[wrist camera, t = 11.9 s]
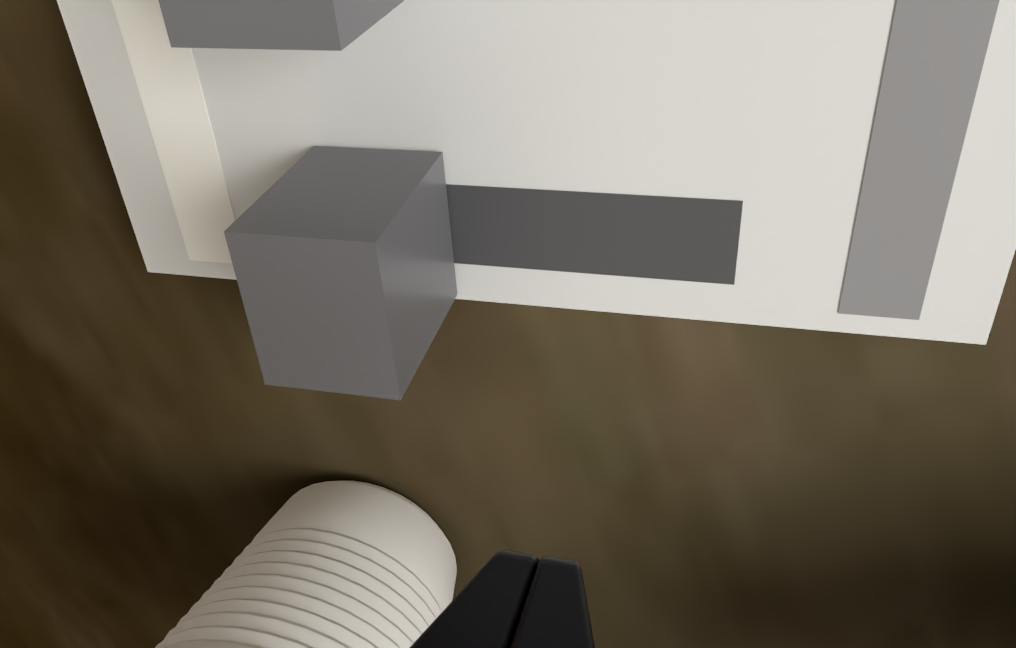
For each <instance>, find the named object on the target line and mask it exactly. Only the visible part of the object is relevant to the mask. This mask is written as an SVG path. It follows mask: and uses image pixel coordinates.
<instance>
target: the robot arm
mask: <svg viewBox="0 0 1016 648" xmlns="http://www.w3.org/2000/svg"><path fill="white" fill-rule="evenodd" d="M410 648H595V646H594V640H593V634H592V628H591V622H590V617H589V611H588V605H587V599H586V593H585V587H584V581H583V575H582V570H581V566H580V565H579V563H578V562H576V561H573V560H567V559H560V558H554V557H543V558H541V559H540V561H539V559H538V557H536V556H535V555H533V554H527V553H521V552H514V551H508V550H502V551H500V552H498V553H496V554H495V555H494V556H493V557H492V558H491V559H490V560H489V561H488V563H487V564H486V565H485V566H484V567H483V568H482V569H481V570H480V571H479V572H478V573H477V575H476V576H475V577H474V578H473V579H472V580H471V581H470V582H469V583H468V584H467V585H466V587H465V588H464V589H463V590H462V591H461V592H460V593H459V594H458V595H457V596H456V597H455V599H454V600H453V601H452V602H451V603H450V604H449V605H448V606H447V607H446V608H445V609H444V611H443V612H442V613H441V614H440V615H439V616H438V617H437V618H436V619H435V620H434V621H433V623H432V624H431V625H430V626H429V627H428V628H427V629H426V630H425V631H424V632H423V633H422V635H421V636H420V637H419V638H418V639H417V640H416V641H415V642H414V643H413V644H412V645H411V647H410Z"/></svg>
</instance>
